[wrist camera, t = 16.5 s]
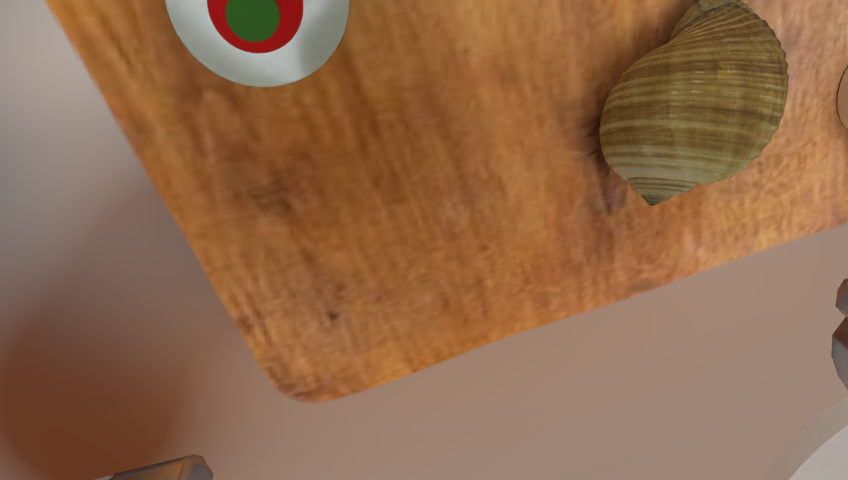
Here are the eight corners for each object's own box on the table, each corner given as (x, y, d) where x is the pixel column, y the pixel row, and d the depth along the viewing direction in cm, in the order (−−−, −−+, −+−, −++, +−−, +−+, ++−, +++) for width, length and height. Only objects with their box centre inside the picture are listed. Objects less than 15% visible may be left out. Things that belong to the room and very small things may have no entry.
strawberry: (287, -61, 25) (285, -50, 22) (314, 29, 27) (315, 52, 24) (199, -39, 25) (184, -25, 22) (231, 51, 27) (221, 76, 24)
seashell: (662, -11, 33) (633, -49, 26) (818, 14, 31) (832, -20, 24) (605, 178, 36) (565, 190, 29) (744, 217, 33) (737, 241, 26)
